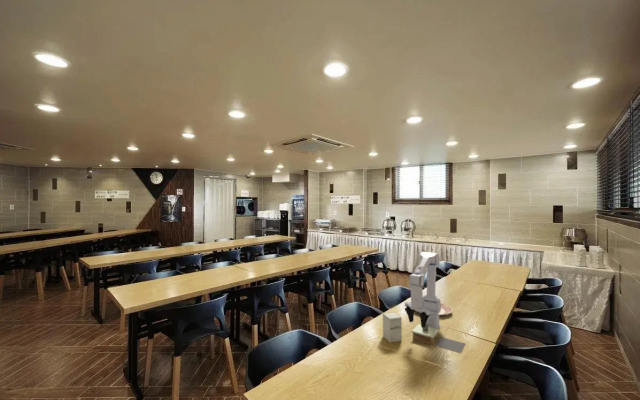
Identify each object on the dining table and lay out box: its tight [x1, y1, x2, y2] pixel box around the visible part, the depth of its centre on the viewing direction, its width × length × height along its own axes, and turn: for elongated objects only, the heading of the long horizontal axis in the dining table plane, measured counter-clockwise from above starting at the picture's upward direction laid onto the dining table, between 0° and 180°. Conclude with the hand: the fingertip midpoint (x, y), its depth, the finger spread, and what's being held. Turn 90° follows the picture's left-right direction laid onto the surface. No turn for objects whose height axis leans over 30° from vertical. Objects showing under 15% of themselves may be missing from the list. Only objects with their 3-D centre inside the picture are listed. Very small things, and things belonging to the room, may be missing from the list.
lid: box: [411, 323, 440, 338], centre depth 146 cm, size 11×11×4 cm
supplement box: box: [382, 312, 403, 343], centre depth 146 cm, size 7×7×13 cm
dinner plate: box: [409, 301, 453, 317], centre depth 187 cm, size 27×27×3 cm
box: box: [412, 332, 439, 346], centre depth 146 cm, size 10×10×4 cm
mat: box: [434, 336, 466, 354], centre depth 139 cm, size 12×12×1 cm
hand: (417, 324), depth 141 cm, fingers open, 7 cm apart
